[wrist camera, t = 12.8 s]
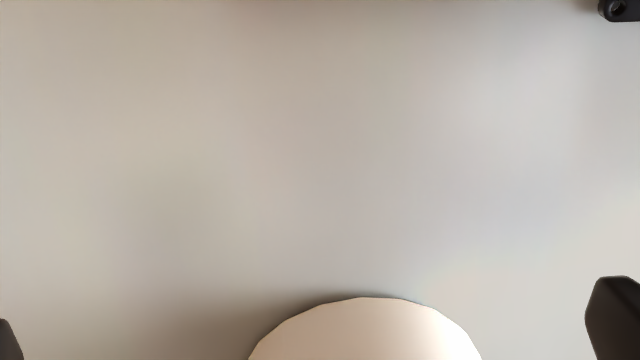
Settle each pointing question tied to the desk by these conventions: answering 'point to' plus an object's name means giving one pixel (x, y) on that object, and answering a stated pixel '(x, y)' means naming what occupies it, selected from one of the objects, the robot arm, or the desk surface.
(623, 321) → the robot arm
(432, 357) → the white tall block
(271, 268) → the desk surface
